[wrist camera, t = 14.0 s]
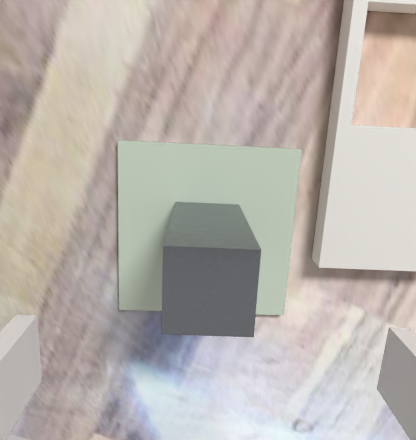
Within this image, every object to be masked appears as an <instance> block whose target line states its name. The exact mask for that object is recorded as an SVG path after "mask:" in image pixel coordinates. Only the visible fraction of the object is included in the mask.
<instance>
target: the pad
mask: <svg viewBox="0 0 416 440" xmlns="http://www.w3.org/2000/svg"><path fill="white" fill-rule="evenodd" d="M301 153H302V150H301V149H287V148H267V147H247V146H226V145H206V144H186V143H166V142H146V141H126V140H118V245H119V310H142V311H162V269H163V244H164V241H165V237H166V234H167V230H168V227H169V223H170V220H171V216H172V213H173V209H174V206H175V202H196V203H218V204H239V205H240V207H241V209H242V211H243V214H244V216H245V218H246V220H247V222H248V224H249V226H250V228H251V230H252V232H253V234H254V236H255V238H256V240H257V242H258V244H259V246H260V248H261V259H260V270H259V281H258V292H257V304H256V314H261V315H284V307H285V298H286V289H287V280H288V271H289V262H290V252H291V243H292V234H293V225H294V216H295V207H296V198H297V189H298V180H299V171H300V162H301Z"/></svg>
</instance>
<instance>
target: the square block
mask: <svg viewBox="0 0 416 440" xmlns="http://www.w3.org/2000/svg"><path fill="white" fill-rule="evenodd" d="M260 259H261V248H260V246H259V244H258V242H257V240H256V238H255V236H254V234H253V232H252V230H251V228H250V226H249V224H248V222H247V220H246V218H245V216H244V214H243V211H242V209H241V207H240V205H239V204H218V203H196V202H175V206H174V209H173V213H172V216H171V220H170V223H169V227H168V230H167V234H166V237H165V241H164V244H163V269H162V315H161V334H171V335H203V336H235V337H254V326H255V315H256V304H257V292H258V281H259V270H260Z"/></svg>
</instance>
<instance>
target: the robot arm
mask: <svg viewBox="0 0 416 440" xmlns="http://www.w3.org/2000/svg"><path fill="white" fill-rule="evenodd" d="M41 381H42V376H41V363H40V350H39V336H38V323H37V316H30V315H15V316H14V317H13V318H12V320H11V321H10V322H9V323H8V324H7V325H6V326H5V327H4V328H3V329H2V330H1V332H0V440H7V438H8V436H9V435H10V433H11V431H12V430H13V428H14V426H15V425H16V423H17V421H18V419H19V418H20V416H21V414H22V413H23V411H24V409H25V408H26V406H27V404H28V403H29V401H30V399H31V397H32V396H33V394H34V392H35V391H36V389H37V387H38V386H39V384H40V382H41ZM377 390H378V391H379V393H380V394H381V396H382V397H383V399H384V400H385V402H386V403H387V405H388V406H389V408H390V409H391V411H392V413H393V414H394V416H395V417H396V419H397V420H398V422H399V423H400V425H401V426H402V428H403V429H404V431H405V432H406V434H407V435H408V437H409V439H410V440H416V334H415V333H414V332H413V331H412V330H411V329H410V328H404V327H389V330H388V335H387V340H386V345H385V350H384V355H383V360H382V365H381V370H380V375H379V380H378V385H377Z"/></svg>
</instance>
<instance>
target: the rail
mask: <svg viewBox="0 0 416 440" xmlns="http://www.w3.org/2000/svg"><path fill="white" fill-rule="evenodd" d="M367 11H380V12H396V13H412V14H416V0H344V3H343V11H342V19H341V27H340V35H339V43H338V51H337V59H336V67H335V75H334V83H333V91H332V99H331V107H330V115H329V123H328V131H327V139H326V147H325V155H324V163H323V171H322V179H321V187H320V195H319V203H318V211H317V219H316V227H315V235H314V243H313V251H312V260H313V261H314V262H315V264H316V265H317V266H318V267H319V268H343V269H369V270H395V271H416V128H400V127H381V126H362V125H351V124H352V116H353V109H354V102H355V95H356V88H357V81H358V74H359V66H360V59H361V52H362V45H363V38H364V31H365V23H366V16H367Z"/></svg>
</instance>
